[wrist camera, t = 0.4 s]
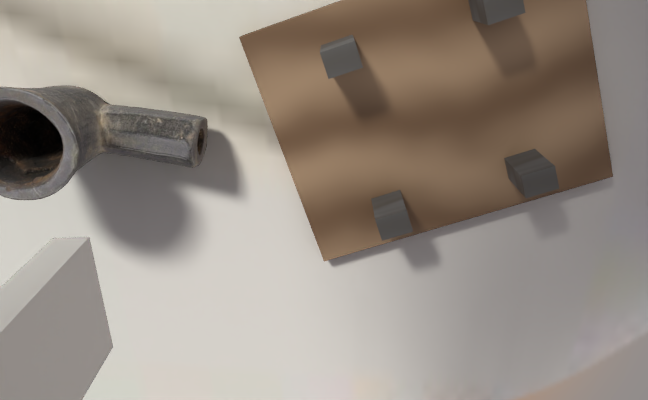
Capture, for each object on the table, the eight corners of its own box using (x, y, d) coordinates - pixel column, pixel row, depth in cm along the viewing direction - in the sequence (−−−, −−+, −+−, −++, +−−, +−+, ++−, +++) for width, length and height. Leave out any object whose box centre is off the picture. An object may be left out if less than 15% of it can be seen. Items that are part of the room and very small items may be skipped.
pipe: (208, 170, 38) (179, 218, 30) (18, 149, 37) (-59, 192, 30) (212, 81, 36) (181, 108, 28) (9, 57, 35) (-76, 79, 28)
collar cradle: (241, 35, 34) (229, 44, 30) (566, -80, 32) (601, -88, 28) (324, 254, 40) (323, 287, 36) (605, 171, 38) (640, 196, 33)
